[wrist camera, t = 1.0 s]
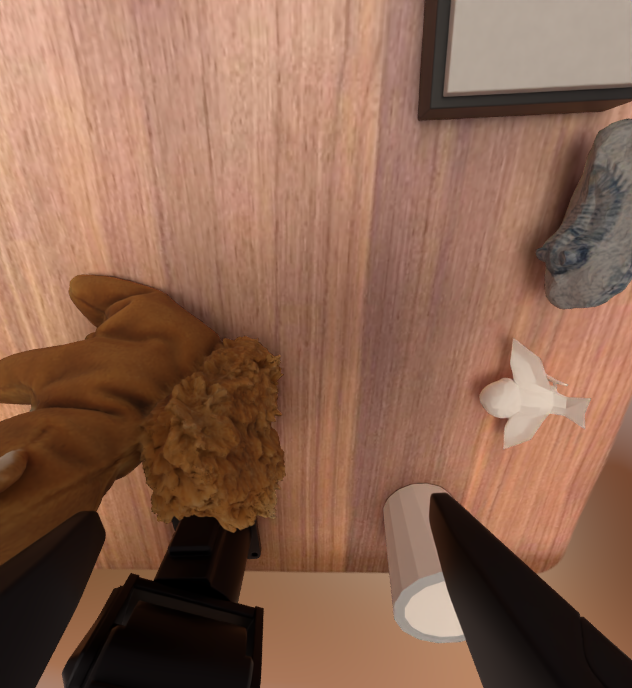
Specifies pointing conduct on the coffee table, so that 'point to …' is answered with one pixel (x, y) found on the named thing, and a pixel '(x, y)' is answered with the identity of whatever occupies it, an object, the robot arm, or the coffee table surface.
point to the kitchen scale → (524, 57)
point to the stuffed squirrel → (138, 417)
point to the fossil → (595, 227)
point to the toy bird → (528, 398)
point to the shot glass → (417, 568)
